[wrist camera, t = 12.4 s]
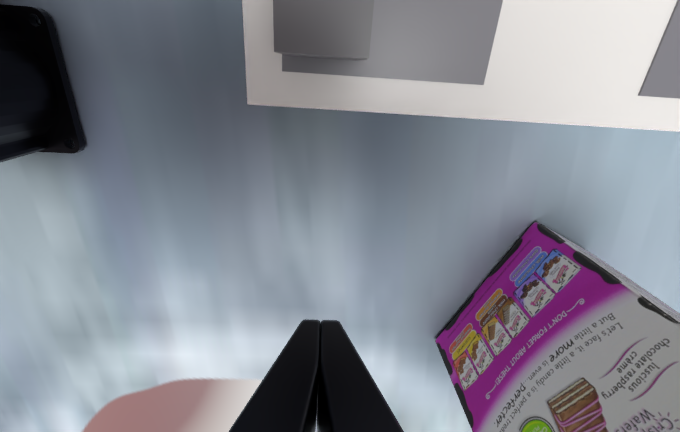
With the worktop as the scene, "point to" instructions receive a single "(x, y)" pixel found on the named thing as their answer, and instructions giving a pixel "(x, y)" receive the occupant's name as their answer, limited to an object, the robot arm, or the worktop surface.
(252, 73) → the switch bank
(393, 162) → the worktop surface
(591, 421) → the candy bar box
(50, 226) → the worktop surface
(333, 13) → the inner tab
